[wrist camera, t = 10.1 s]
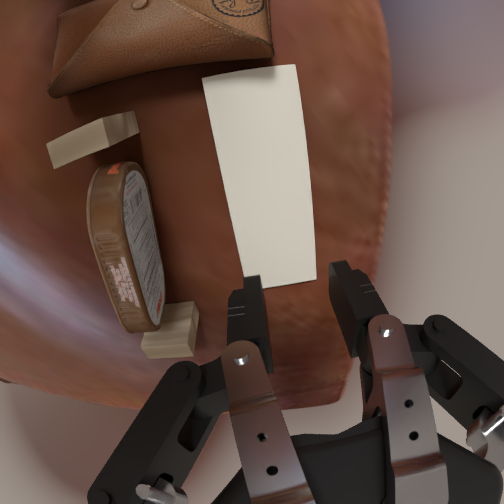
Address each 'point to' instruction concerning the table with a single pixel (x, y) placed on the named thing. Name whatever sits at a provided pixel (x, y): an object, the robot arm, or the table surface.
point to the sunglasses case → (153, 38)
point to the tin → (127, 244)
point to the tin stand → (174, 315)
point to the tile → (265, 170)
